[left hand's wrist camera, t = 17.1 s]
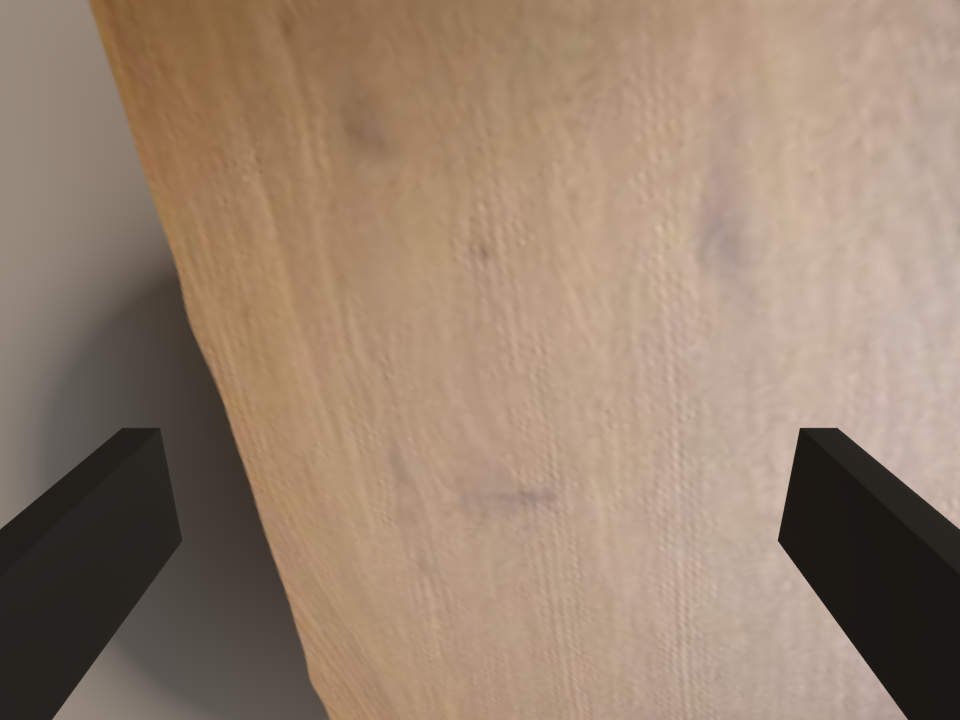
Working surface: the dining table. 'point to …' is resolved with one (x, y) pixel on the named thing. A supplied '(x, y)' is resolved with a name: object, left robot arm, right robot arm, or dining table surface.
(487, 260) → the dining table surface
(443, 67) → the dining table surface
